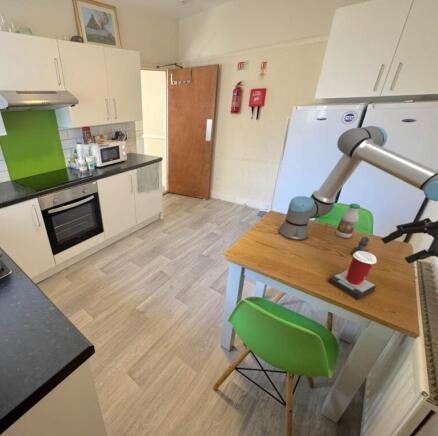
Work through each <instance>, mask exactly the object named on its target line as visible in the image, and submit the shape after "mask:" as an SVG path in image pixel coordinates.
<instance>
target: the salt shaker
mask: <svg viewBox="0 0 438 436" xmlns="http://www.w3.org/2000/svg"><path fill="white" fill-rule="evenodd" d="M369 241H370V239H369V237H368V236H367V235H366V236H362V237H361V239H360V241H359V242H358V245H357V246H353V252H351V255H352V256H353V254H354V253H355V252H357V251H365V252H368V250H367V249H366V248H367V246H369V245H368V243H369ZM368 253H369V252H368Z"/></svg>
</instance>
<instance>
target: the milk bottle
mask: <svg viewBox="0 0 438 436" xmlns="http://www.w3.org/2000/svg"><path fill="white" fill-rule="evenodd" d="M360 208H361V205H360V204H358V203H350V204H349V206H348V209H347V211H345V212H344V213H343V214H342V215H341V217H340V221H339V222H338V225H337V228H336V231H335V234H336V235H337V236H339V237H341V238H345V239H346V238H347V239H349V238H351V237H352V235H353V233H354V231H355V229H356V227H357V225H358V221H359V210H360Z"/></svg>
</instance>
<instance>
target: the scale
mask: <svg viewBox="0 0 438 436" xmlns="http://www.w3.org/2000/svg"><path fill="white" fill-rule="evenodd" d="M347 272H348V269H345V270H343V271H341V272H339V273H337V274H335V275H333V276H331V277H329V279H328V281H327V282H328V283H329V284H331V285H332V286H334V287H336V288H337V289H339V290H341V291H342V292H344V293H345V294H347V295H349V296H350V297H352V298H354V299H355V300H359V299H361V298H363V297H366V296H367V295H368V294H370V293H372V292H374V291H375V289H376V288H377V286H376V285H375V284H374V283H372V282H370V281H369V280H366V278H365V279H364V281H363V282H362V284H361V285H353V284H351V283H349V282H348V281H347V280H346V275H347Z"/></svg>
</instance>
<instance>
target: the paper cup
mask: <svg viewBox="0 0 438 436" xmlns="http://www.w3.org/2000/svg"><path fill="white" fill-rule="evenodd" d="M377 263H378V262H377V257H376V256H375V255H374V254H372V253H371V252H365V251H357V252H355V253H354V254H353V255H352V258H351V261H350V264H349V267H348V269H347V270H348V272H347V275H346V280H347V281H348V282H349V283H351V284H353V285H361V284H362V282H363V281H364V279H365V280H366V278H367V276H368V275H369V273H370V271H371V270H372V268H373V267H374V265H375V264H377Z"/></svg>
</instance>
